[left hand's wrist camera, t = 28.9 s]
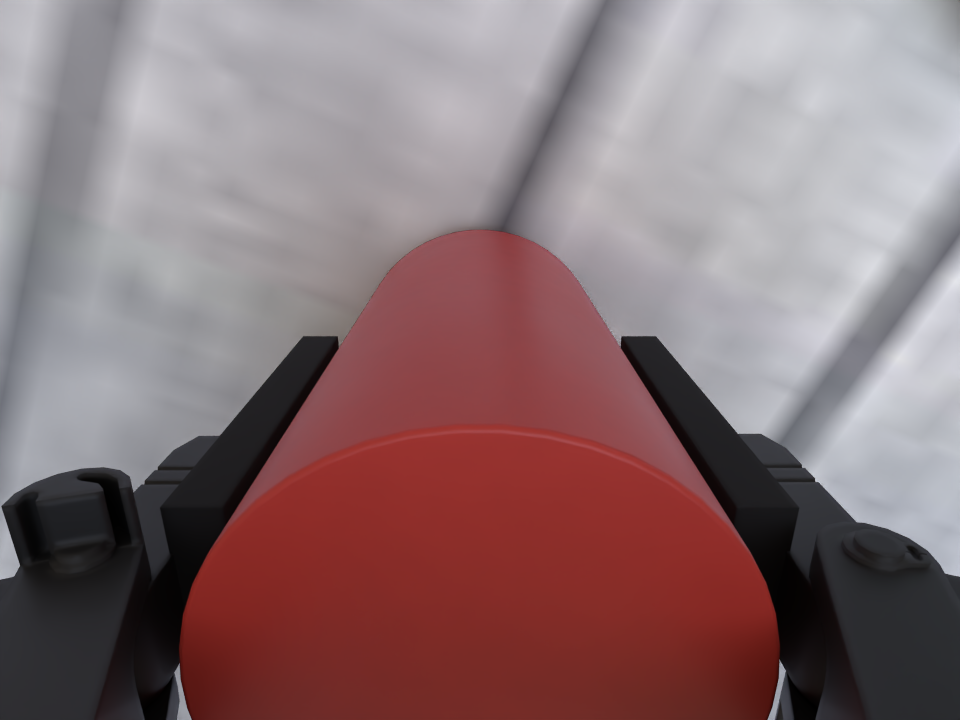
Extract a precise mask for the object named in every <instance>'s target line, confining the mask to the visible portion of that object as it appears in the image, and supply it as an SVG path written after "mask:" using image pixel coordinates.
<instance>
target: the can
mask: <svg viewBox="0 0 960 720" xmlns="http://www.w3.org/2000/svg"><path fill="white" fill-rule="evenodd" d="M179 657H180V675H181V683H182V687H183V692H184V696H185V700H186V705H187V709H188V711H189V714H190V716H191V719H192V720H767V719H768V717H769V714H770V712H771V709H772V706H773V701H774V697H775V692H776V688H777V683H778V679H779V659H780V642H779V634H778V626H777V619H776V612H775V609H774V606H773V603H772V600H771V596H770V593H769V590H768V587H767V584H766V581H765V579H764V578H763V576H762V574H761V572H760V570H759V568H758V566H757V564H756V562H755V560H754V558H753V556H752V554H751V552H750V551H749V549H748V548H747V546H746V545H745V543H744V541H743V540H742V538H741V537H740V535H739V534H738V532H737V530H736V529H735V527H734V526H733V524H732V523H731V521H730V519H729V518H728V516H727V515H726V513H725V512H724V510H723V508H722V507H721V505H720V504H719V502H718V500H717V499H716V497H715V496H714V494H713V493H712V491H711V489H710V488H709V486H708V485H707V483H706V482H705V480H704V478H703V477H702V475H701V474H700V472H699V471H698V469H697V467H696V466H695V464H694V463H693V461H692V460H691V458H690V456H689V455H688V453H687V452H686V450H685V449H684V447H683V445H682V444H681V442H680V441H679V439H678V438H677V436H676V434H675V433H674V431H673V430H672V428H671V426H670V425H669V423H668V422H667V420H666V419H665V417H664V415H663V414H662V412H661V411H660V409H659V408H658V406H657V404H656V403H655V401H654V400H653V398H652V397H651V395H650V393H649V392H648V390H647V389H646V387H645V386H644V384H643V382H642V381H641V379H640V378H639V376H638V375H637V373H636V371H635V370H634V368H633V367H632V365H631V364H630V362H629V360H628V359H627V357H626V356H625V354H624V352H623V351H622V349H621V348H620V346H619V345H618V343H617V341H616V340H615V338H614V337H613V335H612V334H611V332H610V330H609V329H608V327H607V326H606V324H605V323H604V321H603V319H602V318H601V316H600V315H599V313H598V312H597V310H596V308H595V307H594V305H593V304H592V302H591V301H590V299H589V297H588V296H587V294H586V293H585V291H584V290H583V288H582V286H581V285H580V283H579V282H578V280H577V279H576V278H575V276H574V275H573V274H572V272H571V271H570V270H569V269H568V268H567V267H566V266H565V265H564V264H563V263H562V262H561V261H560V260H559V259H558V258H557V257H555V256H554V255H553V254H552V253H550V252H549V251H548V250H546V249H544V248H543V247H541V246H539V245H538V244H536V243H534V242H532V241H530V240H527V239H525V238H522V237H520V236H517V235H513V234H509V233H505V232H500V231H492V230H468V231H461V232H454V233H451V234H447V235H443V236H440V237H437V238H435V239H433V240H430V241H428V242H426V243H424V244H422V245H421V246H419V247H417V248H415V249H414V250H412V251H411V252H409V253H408V254H407V255H406V256H404V257H403V258H402V259H401V260H399V261H398V263H397V264H396V265H395V266H394V267H393V268H392V269H391V270H390V271H389V272H388V273H387V275H386V276H385V278H384V279H383V280H382V282H381V283H380V285H379V286H378V288H377V289H376V291H375V292H374V294H373V296H372V297H371V299H370V300H369V302H368V303H367V305H366V307H365V308H364V310H363V311H362V313H361V314H360V316H359V318H358V319H357V321H356V322H355V324H354V325H353V327H352V328H351V330H350V332H349V333H348V335H347V336H346V338H345V339H344V341H343V343H342V344H341V346H340V347H339V349H338V350H337V352H336V354H335V355H334V357H333V358H332V360H331V361H330V363H329V365H328V366H327V368H326V369H325V371H324V372H323V374H322V375H321V377H320V379H319V380H318V382H317V383H316V385H315V386H314V388H313V390H312V391H311V393H310V394H309V396H308V397H307V399H306V401H305V402H304V404H303V405H302V407H301V408H300V410H299V411H298V413H297V415H296V416H295V418H294V419H293V421H292V422H291V424H290V426H289V427H288V429H287V430H286V432H285V433H284V435H283V437H282V438H281V440H280V441H279V443H278V444H277V446H276V448H275V449H274V451H273V452H272V454H271V455H270V457H269V458H268V460H267V462H266V463H265V465H264V466H263V468H262V469H261V471H260V473H259V474H258V476H257V477H256V479H255V480H254V482H253V484H252V485H251V487H250V488H249V490H248V491H247V493H246V495H245V496H244V498H243V499H242V501H241V502H240V504H239V505H238V507H237V509H236V510H235V512H234V513H233V515H232V516H231V518H230V520H229V521H228V523H227V524H226V526H225V527H224V529H223V531H222V532H221V534H220V535H219V537H218V538H217V540H216V541H215V543H214V545H213V546H212V548H211V549H210V551H209V552H208V554H207V556H206V558H205V560H204V562H203V564H202V566H201V568H200V570H199V572H198V574H197V576H196V578H195V580H194V582H193V584H192V587H191V590H190V593H189V597H188V600H187V603H186V606H185V610H184V613H183V619H182V627H181V635H180V643H179Z"/></svg>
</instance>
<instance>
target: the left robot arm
mask: <svg viewBox="0 0 960 720" xmlns="http://www.w3.org/2000/svg"><path fill="white" fill-rule="evenodd" d="M338 349H339V346H338V336H303V337H302V339H301V340H300V341H299V342H298V343H297V345H296V346H295V347H294V348H293V349H292V351H291V352H290V353H289V354H288V355H287V356H286V358H285V359H284V360H283V361H282V362H281V364H280V365H279V366H278V367H277V368H276V370H275V371H274V372H273V373H272V374H271V376H270V377H269V378H268V379H267V380H266V382H265V383H264V384H263V385H262V386H261V387H260V389H259V390H258V391H257V392H256V393H255V395H254V396H253V397H252V398H251V399H250V401H249V402H248V403H247V404H246V405H245V407H244V408H243V409H242V410H241V411H240V413H239V414H238V415H237V416H236V417H235V418H234V420H233V421H232V422H231V423H230V424H229V426H228V427H227V428H226V429H225V430H224V432H223V433H222V434H221V435H220V436H198V437H196V438H195V439H193V440H191V441H189V442H188V443H186V444H184V445H182V446H180V447H179V448H177V449H175V450H174V451H173V452H172V453H171V454H170V455H169V456H168V457H167V458H166V459H165V460H164V461H163V462H162V463H161V464H160V465H159V466H158V470H155V471H154V472H153V473H152V474H151V475H150V476H149V477H148V478H147V479H146V480H145V484H144V485H141V486H140V487H139V488H138V489H137V490H136V491H135V492H134V493H133V489H132V484H131V480H130V477H129V476H128V475H126V474H125V473H124V472H122V471H121V470H116V469H110V468H104V467H103V468H86V469H79V470H74V471H69V472H65V473H60V474H57V475H54V476H51V477H48V478H46V479H43V480H40V481H38V482H35V483H33V484H31V485H29V486H28V487H26V488H24V489H22V490H21V491H19V492H17V493H15V494H14V495H13V496H12V497H11V498H10V499H9V500H8V501H7V502H6V503H4V504H3V505H2V510H3V513H4V516H5V519H6V522H7V525H8V528H9V532H10V535H11V538H12V541H13V544H14V547H15V551H16V554H17V557H18V560H19V563H20V567H19V569H18V571H17V573H16V574H15V576H14V577H11V578H7V579H2V580H0V720H177V715H178V708H179V693H178V686H177V682H176V678H175V673H174V672H175V670H176V668H177V667H178V665H179V663H180V657H179V643H180V635H181V627H182V619H183V613H184V610H185V606H186V603H187V600H188V597H189V593H190V590H191V587H192V584H193V582H194V580H195V578H196V576H197V574H198V572H199V570H200V568H201V566H202V564H203V562H204V560H205V558H206V556H207V554H208V552H209V551H210V549H211V548H212V546H213V545H214V543H215V541H216V540H217V538H218V537H219V535H220V534H221V532H222V531H223V529H224V527H225V526H226V524H227V523H228V521H229V520H230V518H231V516H232V515H233V513H234V512H235V510H236V509H237V507H238V505H239V504H240V502H241V501H242V499H243V498H244V496H245V495H246V493H247V491H248V490H249V488H250V487H251V485H252V484H253V482H254V480H255V479H256V477H257V476H258V474H259V473H260V471H261V469H262V468H263V466H264V465H265V463H266V462H267V460H268V458H269V457H270V455H271V454H272V452H273V451H274V449H275V448H276V446H277V444H278V443H279V441H280V440H281V438H282V437H283V435H284V433H285V432H286V430H287V429H288V427H289V426H290V424H291V422H292V421H293V419H294V418H295V416H296V415H297V413H298V411H299V410H300V408H301V407H302V405H303V404H304V402H305V401H306V399H307V397H308V396H309V394H310V393H311V391H312V390H313V388H314V386H315V385H316V383H317V382H318V380H319V379H320V377H321V375H322V374H323V372H324V371H325V369H326V368H327V366H328V365H329V363H330V361H331V360H332V358H333V357H334V355H335V354H336V352H337V350H338ZM621 349H622V351H623V352H624V354H625V356H626V357H627V359H628V360H629V362H630V364H631V365H632V367H633V368H634V370H635V371H636V373H637V375H638V376H639V378H640V379H641V381H642V382H643V384H644V386H645V387H646V389H647V390H648V392H649V393H650V395H651V397H652V398H653V400H654V401H655V403H656V404H657V406H658V408H659V409H660V411H661V412H662V414H663V415H664V417H665V419H666V420H667V422H668V423H669V425H670V426H671V428H672V430H673V431H674V433H675V434H676V436H677V438H678V439H679V441H680V442H681V444H682V445H683V447H684V449H685V450H686V452H687V453H688V455H689V456H690V458H691V460H692V461H693V463H694V464H695V466H696V467H697V469H698V471H699V472H700V474H701V475H702V477H703V478H704V480H705V482H706V483H707V485H708V486H709V488H710V489H711V491H712V493H713V494H714V496H715V497H716V499H717V500H718V502H719V504H720V505H721V507H722V508H723V510H724V512H725V513H726V515H727V516H728V518H729V519H730V521H731V523H732V524H733V526H734V527H735V529H736V530H737V532H738V534H739V535H740V537H741V538H742V540H743V541H744V543H745V545H746V546H747V548H748V549H749V551H750V552H751V554H752V556H753V558H754V560H755V562H756V564H757V566H758V568H759V570H760V572H761V574H762V576H763V578H764V579H765V581H766V584H767V587H768V590H769V593H770V596H771V600H772V603H773V606H774V609H775V612H776V619H777V626H778V634H779V642H780V661H781V663H782V664H783V666H784V668H785V670H786V673H785V678H784V682H783V686H782V691H781V695H780V699H779V704H778V708H777V713H776V717H775V720H960V577H958V576H953V575H948V574H945V573H944V571H943V570H942V568H941V566H940V564H939V563H938V562H937V561H936V560H935V559H934V557H933V556H932V555H931V554H930V553H929V552H928V551H927V550H926V549H924V548H923V547H921V546H920V545H918V544H917V543H915V542H914V541H912V540H911V539H909V538H907V537H905V536H902V535H900V534H898V533H895V532H893V531H891V530H888V529H886V528H882V527H878V526H874V525H870V524H866V523H857V522H856V521H855V520H854V519H853V518H852V517H851V516H850V515H849V514H848V513H847V512H846V511H845V510H844V509H843V508H842V507H841V505H840V504H839V503H838V502H837V501H836V500H835V499H834V498H833V497H832V496H831V495H830V494H829V493H828V492H827V491H826V490H825V489H824V488H823V487H822V485H821V484H820V483H819V482H815V478H814V477H813V476H812V475H811V474H810V473H809V472H808V471H807V470H806V469H805V468H802V464H801V463H800V462H799V461H798V460H797V459H796V458H795V457H794V456H793V455H792V454H791V453H790V452H789V451H788V450H787V449H786V448H785V447H783V446H781V445H780V444H778V443H776V442H774V441H772V440H771V439H769V438H767V437H765V436H764V435H762V434H737V432H736V431H735V430H734V429H733V428H732V426H731V425H730V424H729V423H728V422H727V421H726V419H725V418H724V417H723V416H722V415H721V413H720V412H719V411H718V410H717V409H716V407H715V406H714V405H713V404H712V403H711V401H710V400H709V399H708V398H707V397H706V395H705V394H704V393H703V392H702V391H701V389H700V388H699V387H698V386H697V385H696V384H695V382H694V381H693V380H692V379H691V378H690V376H689V375H688V374H687V373H686V372H685V370H684V369H683V368H682V367H681V366H680V364H679V363H678V362H677V361H676V360H675V358H674V357H673V356H672V355H671V354H670V353H669V351H668V350H667V349H666V348H665V347H664V345H663V344H662V343H661V342H660V341H659V339H658V338H657V337H656V336H622V338H621Z"/></svg>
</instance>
